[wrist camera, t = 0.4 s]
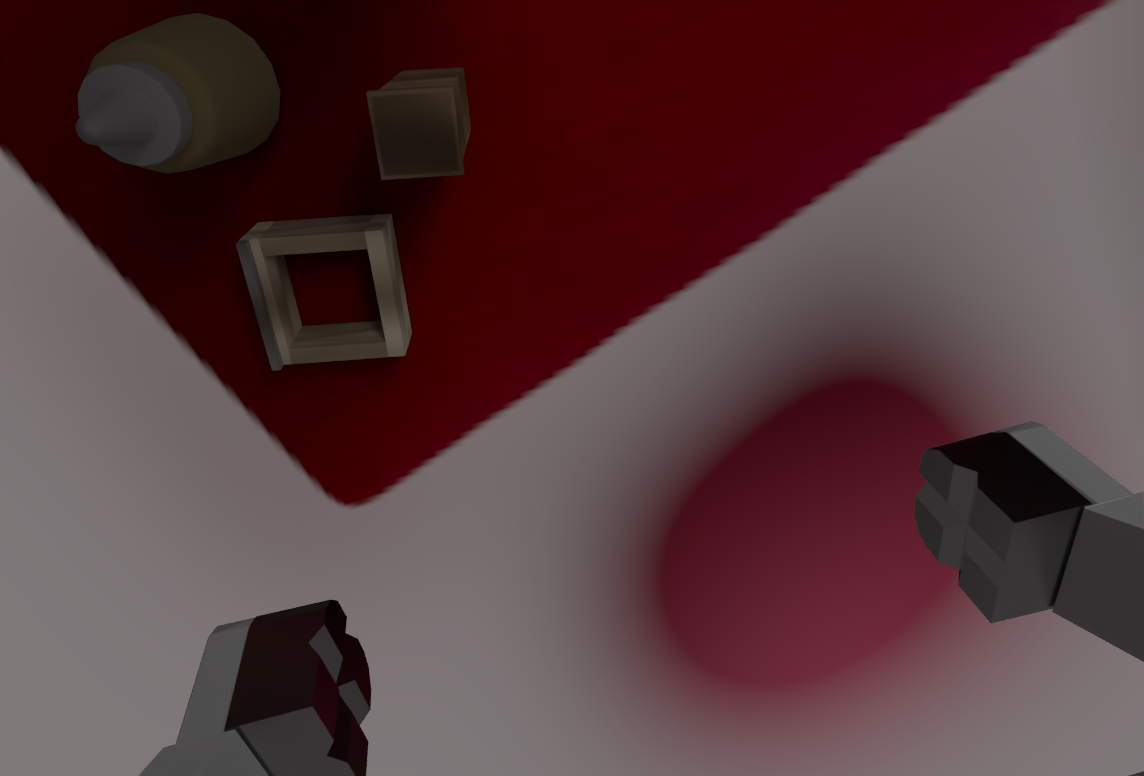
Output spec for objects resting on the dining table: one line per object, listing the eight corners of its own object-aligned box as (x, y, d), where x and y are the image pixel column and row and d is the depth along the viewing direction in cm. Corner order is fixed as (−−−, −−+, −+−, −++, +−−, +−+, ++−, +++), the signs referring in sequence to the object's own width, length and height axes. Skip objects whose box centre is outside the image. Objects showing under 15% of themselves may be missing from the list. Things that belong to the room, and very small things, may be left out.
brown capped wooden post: (398, 67, 47) (366, 92, 37) (466, 63, 47) (452, 87, 37) (409, 137, 49) (381, 179, 39) (474, 133, 49) (463, 174, 39)
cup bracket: (258, 222, 51) (235, 243, 47) (391, 213, 52) (380, 234, 48) (290, 341, 56) (271, 370, 52) (411, 332, 56) (403, 360, 52)
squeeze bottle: (211, 162, 49) (70, 247, 34) (138, 38, 45) (-60, 68, 30) (319, 120, 48) (226, 187, 33) (254, -10, 44) (113, -5, 29)
